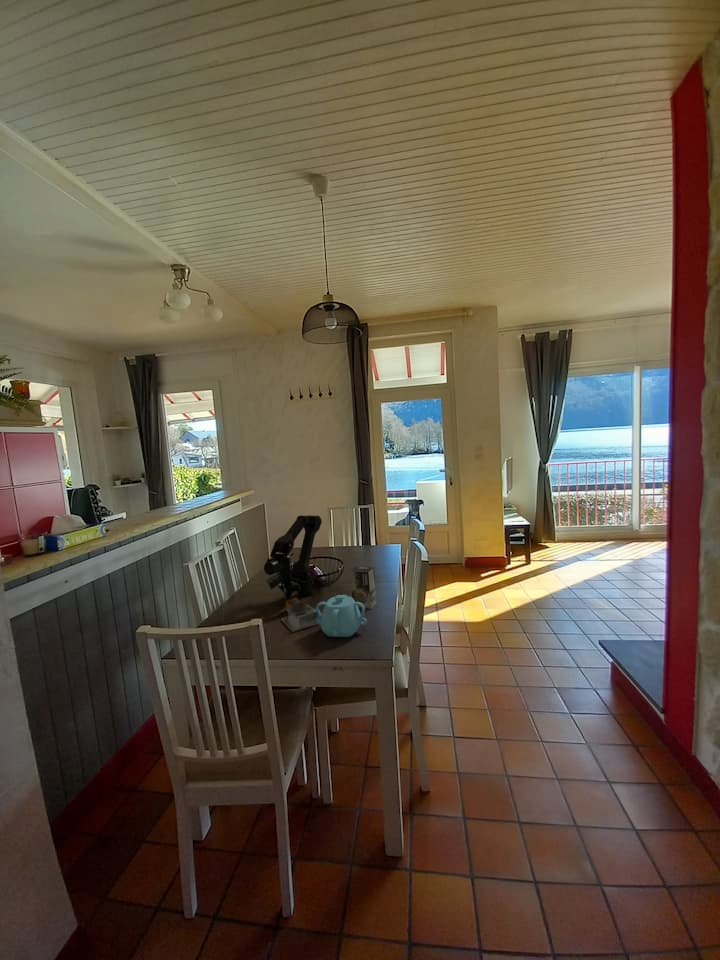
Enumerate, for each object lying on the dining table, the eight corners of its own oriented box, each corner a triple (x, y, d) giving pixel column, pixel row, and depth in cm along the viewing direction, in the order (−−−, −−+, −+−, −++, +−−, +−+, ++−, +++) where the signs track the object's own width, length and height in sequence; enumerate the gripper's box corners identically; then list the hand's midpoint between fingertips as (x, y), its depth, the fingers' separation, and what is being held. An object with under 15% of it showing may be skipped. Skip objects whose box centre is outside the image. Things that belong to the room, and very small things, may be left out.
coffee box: (377, 603, 169) (374, 567, 167) (371, 609, 163) (368, 572, 162) (358, 601, 173) (355, 565, 171) (352, 606, 167) (349, 570, 165)
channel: (315, 610, 166) (314, 599, 165) (328, 621, 155) (327, 608, 154) (281, 620, 158) (280, 608, 158) (292, 632, 147) (291, 619, 147)
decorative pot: (371, 633, 142) (369, 597, 141) (331, 646, 134) (328, 608, 133) (351, 618, 156) (349, 585, 155) (314, 628, 149) (311, 594, 148)
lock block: (297, 607, 170) (296, 597, 170) (303, 612, 164) (302, 602, 164) (286, 610, 168) (285, 600, 167) (292, 616, 162) (291, 605, 161)
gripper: (260, 566, 176) (264, 600, 177) (273, 577, 160) (276, 613, 161) (284, 561, 181) (287, 594, 183) (298, 571, 165) (301, 606, 167)
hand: (287, 601), depth 173 cm, fingers closed
